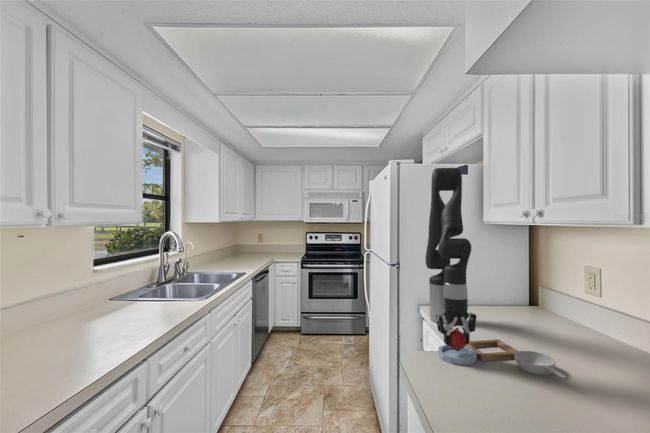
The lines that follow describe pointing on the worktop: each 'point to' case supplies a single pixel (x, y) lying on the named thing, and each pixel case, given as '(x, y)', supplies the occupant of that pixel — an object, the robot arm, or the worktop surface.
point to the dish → (457, 355)
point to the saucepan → (536, 363)
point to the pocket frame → (492, 356)
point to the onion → (457, 339)
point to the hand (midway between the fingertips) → (456, 344)
